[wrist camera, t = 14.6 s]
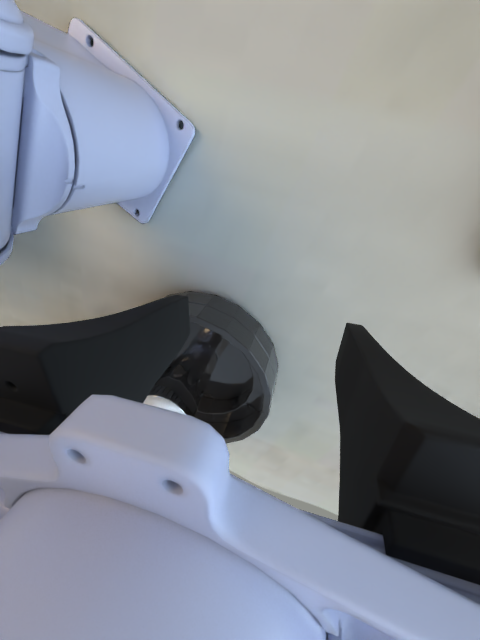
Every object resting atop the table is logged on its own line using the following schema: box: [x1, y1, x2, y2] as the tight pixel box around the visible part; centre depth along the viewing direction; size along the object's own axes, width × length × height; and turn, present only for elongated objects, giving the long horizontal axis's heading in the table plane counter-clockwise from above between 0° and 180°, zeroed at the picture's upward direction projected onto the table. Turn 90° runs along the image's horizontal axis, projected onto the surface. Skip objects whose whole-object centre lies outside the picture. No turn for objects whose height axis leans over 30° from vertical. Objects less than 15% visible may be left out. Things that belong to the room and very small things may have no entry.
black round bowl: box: [161, 291, 278, 443], centre depth 26 cm, size 14×14×4 cm
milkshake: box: [143, 343, 217, 417], centre depth 23 cm, size 4×5×10 cm
